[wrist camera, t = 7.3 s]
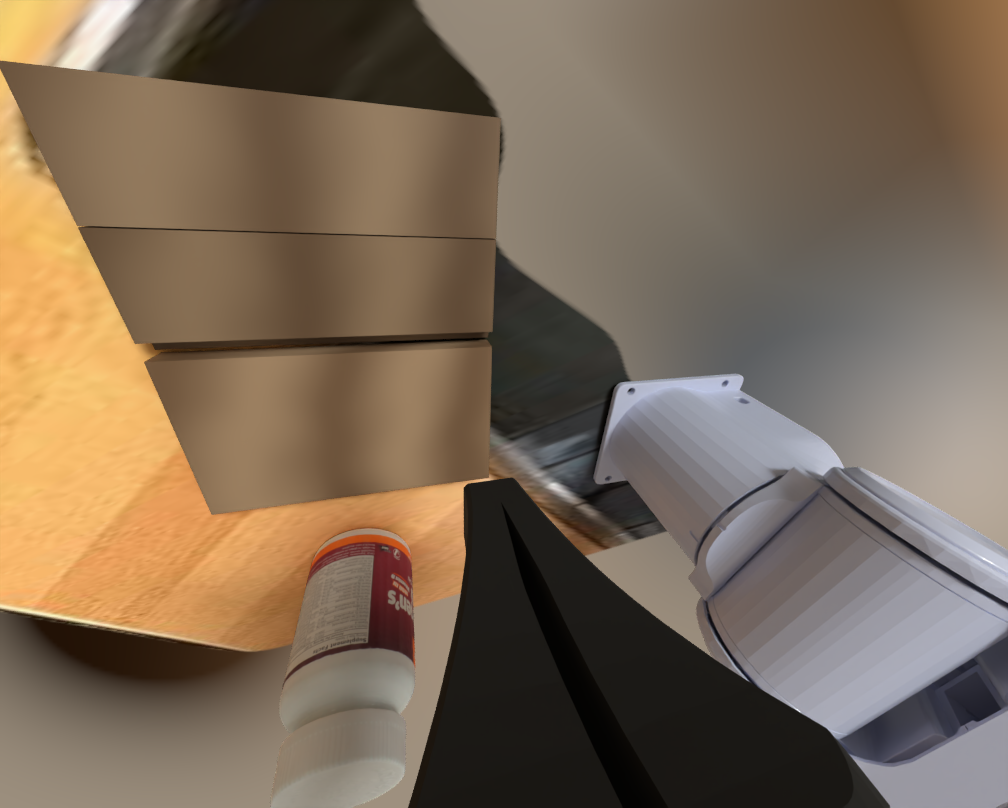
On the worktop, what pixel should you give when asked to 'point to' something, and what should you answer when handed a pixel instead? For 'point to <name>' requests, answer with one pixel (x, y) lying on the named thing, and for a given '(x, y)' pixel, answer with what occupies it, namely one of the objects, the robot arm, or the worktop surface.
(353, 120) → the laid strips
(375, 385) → the plank
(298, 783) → the pill bottle
